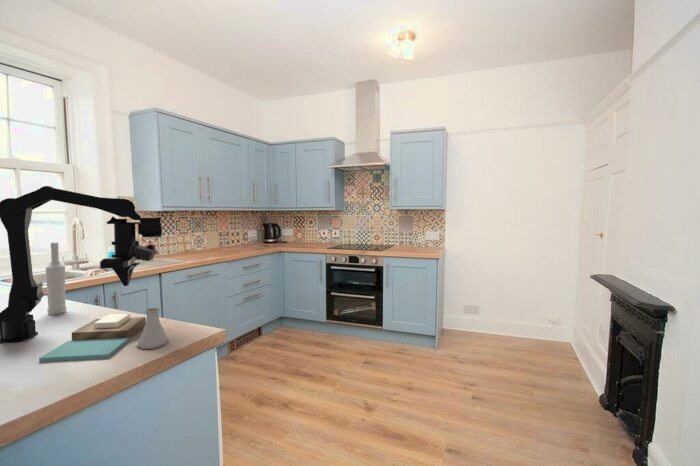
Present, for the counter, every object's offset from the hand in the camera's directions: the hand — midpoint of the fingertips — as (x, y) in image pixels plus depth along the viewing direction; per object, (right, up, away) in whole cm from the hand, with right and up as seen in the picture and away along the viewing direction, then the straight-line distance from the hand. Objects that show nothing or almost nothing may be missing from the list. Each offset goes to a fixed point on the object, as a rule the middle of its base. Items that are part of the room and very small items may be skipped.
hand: (126, 285), depth 108 cm
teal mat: (+4, -14, -21) cm, 25 cm away
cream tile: (+2, -10, -8) cm, 13 cm away
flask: (+18, -14, -16) cm, 28 cm away
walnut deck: (+2, -13, -9) cm, 16 cm away
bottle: (-31, -11, +10) cm, 35 cm away
